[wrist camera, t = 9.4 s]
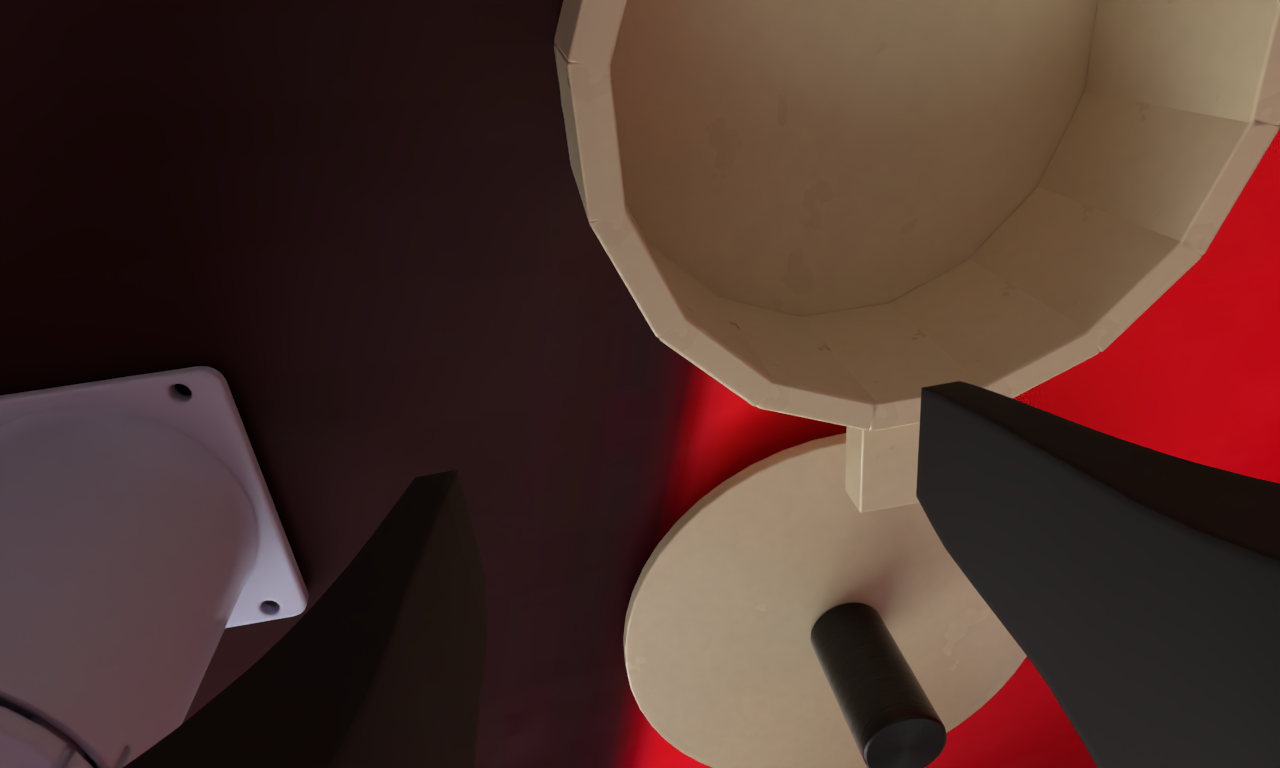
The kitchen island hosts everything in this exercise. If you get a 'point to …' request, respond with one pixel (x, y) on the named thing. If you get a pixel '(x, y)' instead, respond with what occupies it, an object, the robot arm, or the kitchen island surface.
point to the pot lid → (808, 626)
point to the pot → (907, 186)
